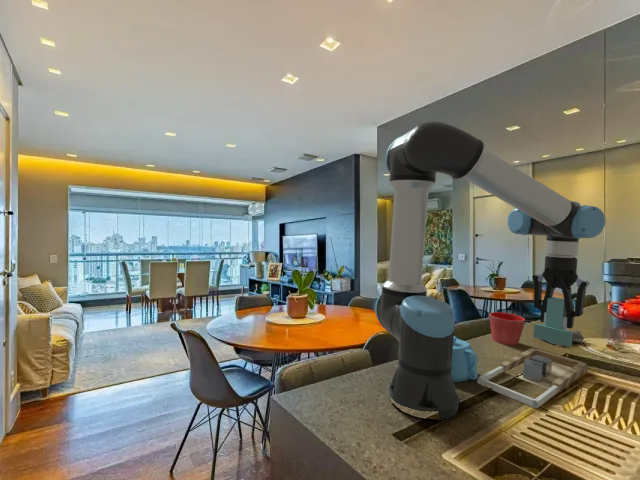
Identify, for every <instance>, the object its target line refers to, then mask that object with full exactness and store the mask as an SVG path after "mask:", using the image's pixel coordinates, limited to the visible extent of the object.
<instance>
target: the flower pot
mask: <svg viewBox="0 0 640 480" xmlns="http://www.w3.org/2000/svg"><path fill="white" fill-rule="evenodd" d="M488 314H489V322H490V332H491V340H492V341H493V342H496V343H498V344H499V343H500V344H502V345H507V346H508V345H509V346H515V345H516V346H517V345H519V342H520V338H521V336H522V333H523V329H524V326H525V322H526V319H525V318H524V317H523V316H520V315H517V314H514V313H509V312H500V311H499V312H493V311H492V312H490V313H488Z"/></svg>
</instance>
